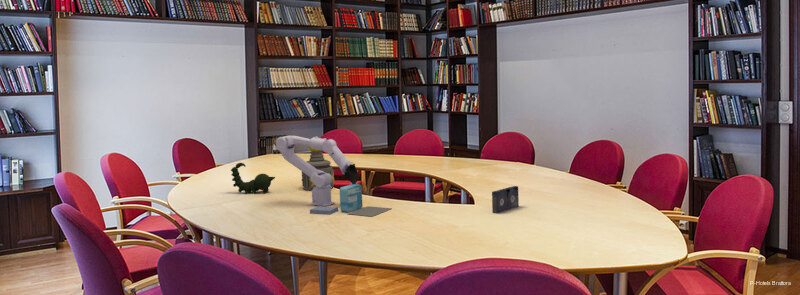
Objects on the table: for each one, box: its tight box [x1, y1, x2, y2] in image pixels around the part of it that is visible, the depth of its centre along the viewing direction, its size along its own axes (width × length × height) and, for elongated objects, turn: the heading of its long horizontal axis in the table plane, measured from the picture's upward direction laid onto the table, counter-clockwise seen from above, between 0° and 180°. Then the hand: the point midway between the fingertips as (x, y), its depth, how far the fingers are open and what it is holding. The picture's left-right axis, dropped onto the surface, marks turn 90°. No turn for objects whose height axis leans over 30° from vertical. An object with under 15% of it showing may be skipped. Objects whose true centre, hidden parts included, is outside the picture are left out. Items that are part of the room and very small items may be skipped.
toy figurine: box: [230, 162, 276, 195], centre depth 360 cm, size 9×19×25 cm
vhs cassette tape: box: [491, 185, 520, 214], centre depth 293 cm, size 18×3×10 cm, turn 135°
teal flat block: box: [339, 183, 363, 213], centre depth 305 cm, size 12×4×12 cm, turn 146°
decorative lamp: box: [301, 145, 335, 192], centre depth 367 cm, size 19×19×30 cm
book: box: [309, 205, 339, 216], centre depth 302 cm, size 11×8×2 cm
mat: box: [347, 205, 392, 218], centre depth 300 cm, size 14×18×1 cm
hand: (356, 180), depth 313 cm, fingers open, 7 cm apart
